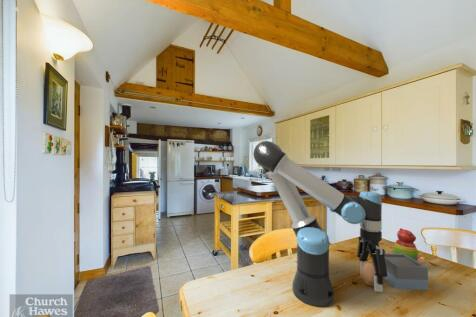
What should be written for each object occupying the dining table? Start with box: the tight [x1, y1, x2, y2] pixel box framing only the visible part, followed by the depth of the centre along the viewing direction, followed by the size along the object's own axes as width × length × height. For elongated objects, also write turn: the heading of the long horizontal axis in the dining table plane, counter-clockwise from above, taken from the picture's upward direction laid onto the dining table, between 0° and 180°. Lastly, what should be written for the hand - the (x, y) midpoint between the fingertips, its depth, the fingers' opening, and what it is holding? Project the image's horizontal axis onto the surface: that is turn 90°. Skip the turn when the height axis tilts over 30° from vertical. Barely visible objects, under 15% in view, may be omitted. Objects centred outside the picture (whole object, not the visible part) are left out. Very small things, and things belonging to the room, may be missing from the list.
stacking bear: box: [392, 228, 419, 261], centre depth 98 cm, size 11×10×18 cm
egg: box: [361, 262, 376, 287], centre depth 82 cm, size 7×7×9 cm
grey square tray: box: [383, 252, 429, 291], centre depth 86 cm, size 12×12×9 cm
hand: (370, 283), depth 82 cm, fingers open, 9 cm apart
